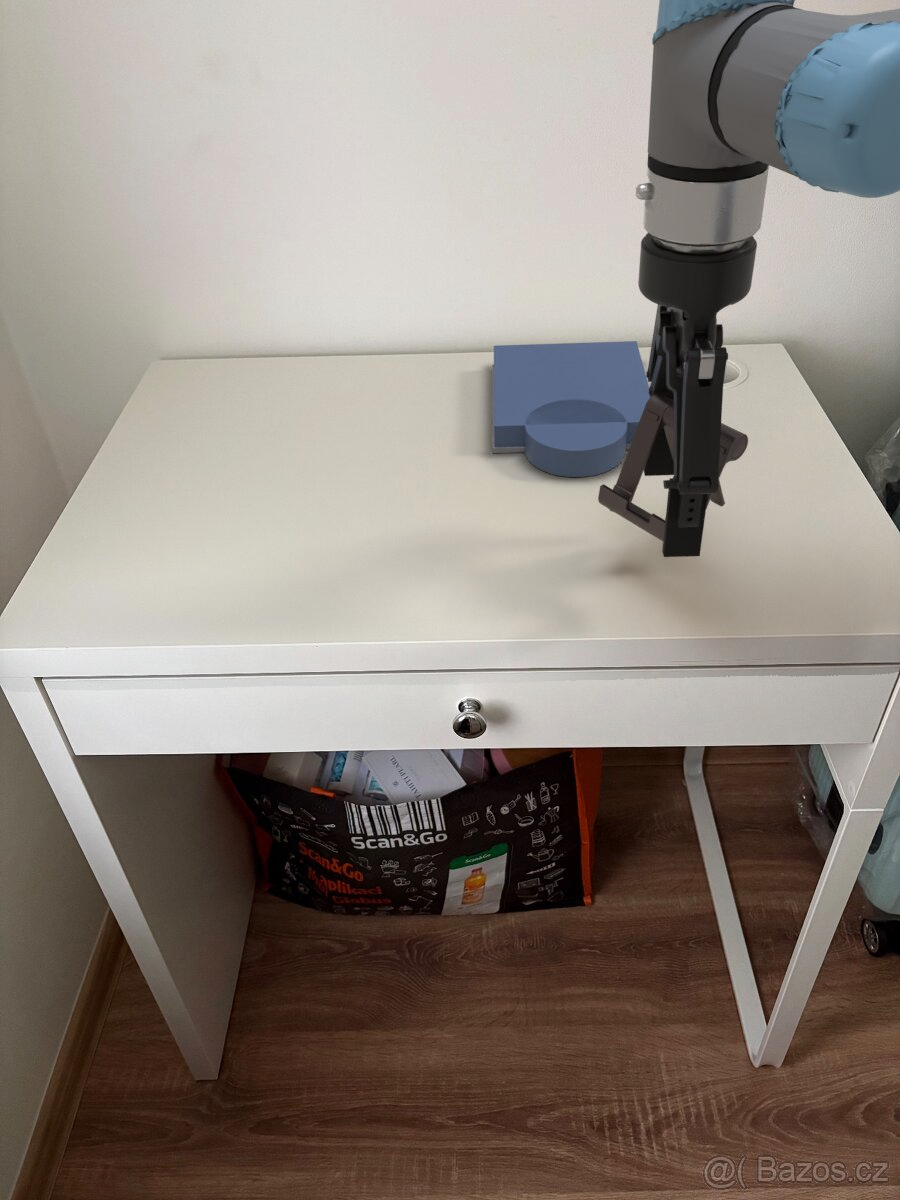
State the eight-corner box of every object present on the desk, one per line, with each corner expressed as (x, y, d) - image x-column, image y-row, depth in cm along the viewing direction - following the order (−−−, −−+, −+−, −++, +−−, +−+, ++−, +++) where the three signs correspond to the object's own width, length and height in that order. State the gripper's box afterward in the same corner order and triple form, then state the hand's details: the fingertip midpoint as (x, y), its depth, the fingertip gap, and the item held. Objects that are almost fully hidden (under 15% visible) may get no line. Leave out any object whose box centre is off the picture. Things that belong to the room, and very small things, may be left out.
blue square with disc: (664, 475, 92) (667, 448, 90) (492, 479, 93) (492, 452, 91) (636, 364, 110) (638, 340, 108) (492, 369, 111) (491, 344, 109)
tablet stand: (595, 507, 79) (600, 417, 74) (663, 473, 83) (672, 384, 77) (675, 556, 74) (687, 462, 68) (744, 517, 77) (760, 424, 72)
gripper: (623, 184, 73) (609, 439, 87) (666, 306, 55) (640, 603, 69) (724, 179, 73) (693, 437, 86) (800, 300, 55) (747, 601, 68)
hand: (669, 511), depth 78 cm, fingers closed on tablet stand, 11 cm apart
